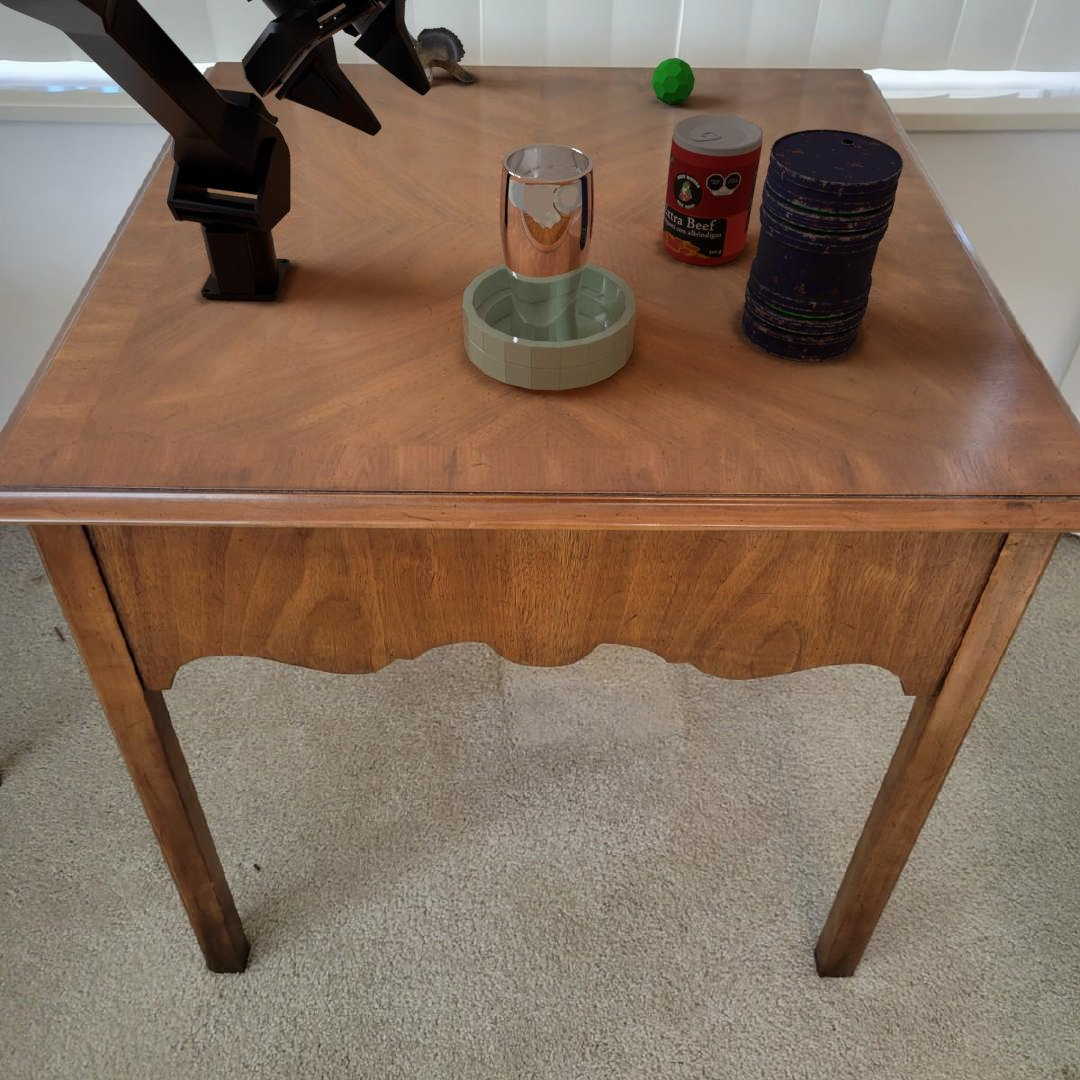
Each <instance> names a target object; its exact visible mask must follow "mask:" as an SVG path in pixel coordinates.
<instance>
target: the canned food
mask: <svg viewBox="0 0 1080 1080" xmlns="http://www.w3.org/2000/svg"><path fill="white" fill-rule="evenodd" d="M763 138H764V132H763V129H762V128H761V127H760V126H759V125H758V124H756V123H754V122H753V121H750V120H749V119H746V118H743V117H739V116H735V115H729V114H723V113H722V114H721V113H720V114H719V113H712V114H711V113H707V114H706V113H705V114H699V115H693V116H689V117H686V118H684V119H682V120H679V121H678V122H677V123H676V124H675V125H674V126H673V131H672V137H671V146H670V152H669V153H670V155H669V162H668V163H669V164H668V174H667V185H666V195H665V204H664V213H663V223H662V224H663V226H662V233H661V239H662V243H663V248H664V250H665V252H666V253H667V254H668V255H669V256H671V257H672V258H674V259H675V260H677V261H681V262H683V263H686V264H689V265H697V266H715V265H716V266H717V265H722V264H727V263H728V262H731V261H733V260H734V259H736V258H738V257H739V256H740V255H741V254H742V251H743V249H744V247H745V245H746V243H747V236H748V232H749V225H750V221H751V220H750V218H751V213H752V207H753V204H754V203H753V202H754V197H755V196H754V195H755V190H756V184H757V178H758V172H759V168H760V161H761V156H762V155H761V154H762V147H763V142H764V141H763Z"/></svg>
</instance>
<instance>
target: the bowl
mask: <svg viewBox="0 0 1080 1080" xmlns="http://www.w3.org/2000/svg"><path fill="white" fill-rule="evenodd" d="M463 292H464V293H463V297H462V303H461V304H462V305H461V307H462V325H463V326H462V330H463V331H462V332H463V346H464V349H465V352H466V353H467V356H468V359H469V361H470V362H471V363H472V364H474V366H476V367H477V368H478V369H479V370H480V371H481V372H482V373H484V375H486V376H489V377H491V378H492V379H495V380H497V381H499V382H500V383H503V384H506V385H510V386H515V387H519V388H523V389H528V390H538V391H563V390H571V389H578V388H583V387H584V388H585V387H588V386H591V385H593V384H596V383H599V382H601V381H603V380H607V379H609V378H610V377H612V376H613V375H614V374H615V373H617V372H619V370H620V369H622V368H623V367H624V366H625V365H626V364H627V362H628V360H629V358H630V357H631V355H632V353H633V350H634V349H633V348H634V337H635V326H636V314H637V301H636V295H635V293H634V291H633V289H632V288H631V286H630V285H629V284H628V282H627V281H626V280H624V279H623V278H621V276H619V275H618V274H616V273H615V272H613V271H612V270H610V269H607V268H605V267H603V266H599V265H597V264H594V263H592V262H589V261H587V264H586V268H585V272H584V276H583V280H582V285H581V289H580V294H579V302H578V317H579V324H580V330H581V336H582V339H576V340H569V341H562V342H551V341H531V340H527V339H522V338H517V337H513V336H509V335H508V330H509V326H510V321H511V315H512V296H511V289H510V284H509V278H508V274H507V269H506V264H505V262H504V263H501V264H498V265H494V266H492V267H489V268H488V269H487V270H485V271H483V272H481V273H479V274H478V275H477V276H475V277H474V278H473V279H472V280H471V282H470V283H469V285H467V287H466V288H465V289H464V291H463Z"/></svg>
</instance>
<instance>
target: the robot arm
mask: <svg viewBox="0 0 1080 1080" xmlns="http://www.w3.org/2000/svg"><path fill="white" fill-rule="evenodd" d="M246 1H247V3H250V2H253V0H246ZM406 1H407V0H261V2H262V3H263V4H264V5H265V6H266V8H267V9H268V10H269V11H270V12H271V13H272V14H273V15H274V17H275V18H274V19H272V20H270V21H269V22H268V24H267V25H266V27H265V28H264V29H263V30H262V32H261V33H260V34H259V36H258V37H257V39H256V40H255V41H254V43H253V44H252V46H251V47H250V48H249V49H248V51H247V52H246V54H245V55H244V57H243V58H242V59H241V66H242V71H243V75H244V80H246V81H247V83H248V84H249V85H250V86H251V87H252V88H253V89H254V91H255V92H256V93H257V94H258V95H256V94H255V93H254V92H249V91H240V90H231V89H223V88H215V86H214V85H212V83H211V82H210V81H209V80H208V78H206V76H205V75H204V74H203V73H202V72H201V71H200V69H198V67H197V66H196V65H195V64H194V63H193V62H192V60H191V59H190V58H189V57H188V56H187V55H186V54H185V53H184V52H183V50H182V49H181V48H180V47H179V46H178V45H177V44H176V43H175V41H174V40H173V39H172V37H170V35H169V34H168V33H167V32H166V31H165V30H164V29H163V27H162V26H160V24H159V23H158V22H157V21H156V19H155V18H153V16H152V15H151V14H150V13H149V12H148V11H147V10H146V9H145V7H144V6H143V5H142V3H140V1H139V0H0V4H1V5H2V6H4V7H6V8H8V9H11V10H13V11H15V12H18V13H20V14H23V15H24V16H28V17H29V18H32V19H35V20H37V21H40V22H42V23H45V24H46V25H49V26H51V27H54V28H56V29H58V30H60V31H61V32H62V33H63V34H65V35H66V36H67V37H68V38H69V39H70V40H71V41H72V42H73V43H74V44H75V45H76V46H77V47H78V48H79V49H80V50H81V51H82V52H84V53H85V54H86V55H87V56H88V58H90V60H91V61H93V62H94V63H95V64H96V65H97V66H98V67H99V68H100V69H101V70H103V72H104V73H105V74H106V75H108V76H109V77H110V78H111V79H112V80H113V82H115V83H116V84H117V85H118V86H119V87H120V88H121V89H122V90H123V91H124V92H125V93H127V94H128V96H130V97H131V98H132V99H133V100H134V101H135V102H136V103H137V104H138V105H139V106H140V107H141V108H142V109H143V110H144V111H145V112H146V113H147V114H148V115H150V116H151V117H152V118H153V119H154V121H156V122H157V123H158V124H159V125H160V126H161V127H162V128H163V129H164V130H165V131H166V132H167V133H168V134H169V135H170V136H171V137H172V144H171V158H172V159H173V161H174V164H173V169H172V173H171V178H170V182H169V183H170V184H169V188H168V193H167V198H166V205H167V207H168V209H169V211H170V213H171V215H172V216H173V218H174V220H175V221H177V222H189V223H198V224H199V226H200V228H201V229H200V230H201V233H202V239H203V242H204V247H205V251H206V255H207V260H208V264H209V269H210V273H209V275H208V277H207V279H206V280H205V282H204V284H203V286H202V288H201V290H200V294H201V297H202V298H205V299H226V300H227V299H229V300H259V301H261V300H262V301H273V300H275V299H277V298H278V295H279V293H280V290H281V288H282V286H283V285H284V284H283V283H284V281H285V279H286V277H287V274H288V272H289V270H290V267H291V261H290V259H288V258H277V252H276V247H275V242H274V238H273V237H274V236H273V231H272V230H273V229H274V228H275V227H276V226H277V225H278V224H279V223H280V222H281V221H282V220H283V219H284V218H285V216H287V215H288V214H289V212H291V200H292V199H291V198H292V197H291V196H292V195H291V194H292V193H291V192H292V191H291V187H292V186H291V185H292V184H291V181H292V179H291V176H292V175H291V174H292V173H291V172H292V171H291V169H292V168H291V165H292V161H291V152H290V147H289V145H288V142H287V141H286V139H285V137H284V134H283V133H282V131H281V129H280V128H279V127H278V126H277V124H278V122H279V117H278V116H275V115H272V113H271V112H269V110H268V108H267V107H266V105H265V103H264V102H263V100H262V99H264V98H265V97H266V96H268V95H269V94H271V93H273V92H274V91H276V90H277V89H278V90H277V91H276V92H275V94H274V97H275V98H276V99H277V100H278V101H282V100H288V101H290V102H293V103H296V104H299V105H301V106H302V107H305V108H309V109H311V110H314V111H317V112H319V113H322V114H324V115H326V116H328V117H330V118H332V119H335V120H337V121H339V122H341V123H343V124H345V125H348V126H349V127H352V128H354V129H356V130H358V131H360V132H363V133H364V134H367V135H369V136H371V137H374V136H376V135H377V134H378V133H379V132H380V131H381V130H382V128H383V126H382V124H381V122H380V121H379V119H378V117H377V115H375V112H373V109H371V108H370V106H369V104H368V103H367V102H366V101H365V99H364V98H363V96H362V95H361V93H359V91H358V89H357V88H356V87H355V86H354V85H353V83H352V82H351V80H350V79H349V78H348V77H347V75H346V74H345V72H344V71H343V70H342V69H341V67H340V65H339V62H338V58H337V57H338V56H337V50H336V45H335V40H334V39H335V38H334V35H335V34H337V33H338V32H341V31H343V33H344V34H347V35H348V36H351V37H353V38H357V37H359V38H357V40H356V41H355V42H354V43H353V46H354V47H355V48H357V49H358V50H359V51H361V52H362V53H363V54H364V55H366V56H367V57H368V58H370V59H371V60H373V61H374V62H375V63H377V64H378V65H379V66H380V67H382V68H383V69H384V70H386V71H387V73H389V74H390V75H392V76H393V77H395V78H396V79H397V80H399V81H400V82H402V84H404V85H405V86H407V87H408V88H410V89H411V90H412V91H414V92H416V93H417V94H419V95H420V96H422V97H424V96H426V95H427V93H428V92H430V90H431V89H432V84H431V85H430V82H429V80H428V78H427V76H426V73H425V71H424V69H423V66H422V64H421V62H420V59H419V57H418V55H417V52H416V50H415V47H414V45H413V43H412V40H411V38H410V35H409V32H410V31H409V30H408V27H407V23H406V19H405V18H406V17H405V16H406ZM408 31H409V32H408ZM260 97H261V98H260ZM209 189H210V190H216V191H224V192H231V193H238V194H245V195H253V196H256V198H255V197H249V196H240V195H233V194H227V193H220V192H212V191H209Z"/></svg>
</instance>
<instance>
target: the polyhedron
mask: <svg viewBox="0 0 1080 1080" xmlns="http://www.w3.org/2000/svg"><path fill="white" fill-rule="evenodd" d="M651 78H652V79H651V86H652V88H653V91H654V94H655V96H656V98H657V99H658V100H660V101H661V102H662V103H665V104H667V105H669V106H671V105H678V104H681V103H683V102H685V101H686V100H687V99H688V98H689V96H690V95H691V94H692V92H693V90H694V87H695V82H696V81H695V80H696V78H695V76H694V73H693V70H692V67H691V65H690V64H689V63H688V62H686V61H685V60H684V59H681V58H678V57H672V58H667V59H665V60H663V61H661V62H660V63H659V64H658V65H657V66H656V67H655V68H654V72H653V73H652V77H651Z"/></svg>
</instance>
